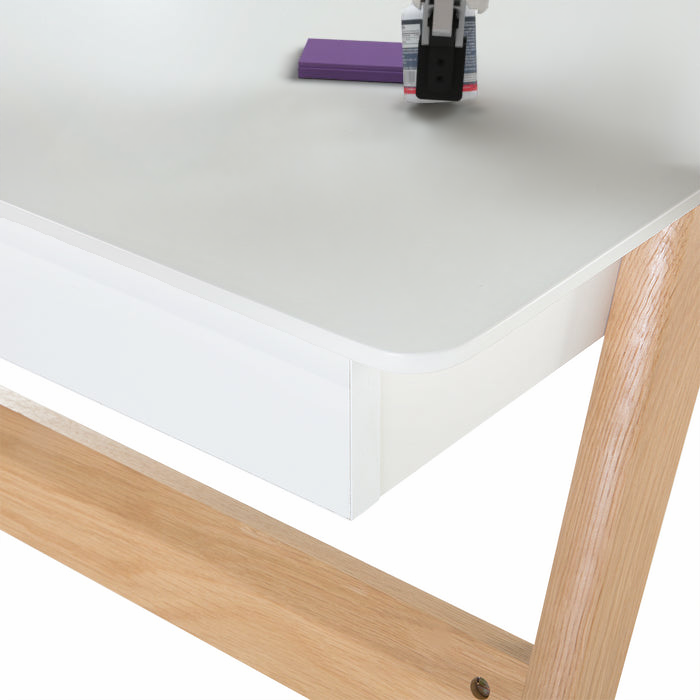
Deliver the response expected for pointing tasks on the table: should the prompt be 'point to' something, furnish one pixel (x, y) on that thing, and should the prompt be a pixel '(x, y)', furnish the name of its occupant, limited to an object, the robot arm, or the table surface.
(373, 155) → the table surface
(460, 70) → the robot arm
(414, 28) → the pill bottle
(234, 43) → the table surface
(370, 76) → the purple box
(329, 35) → the table surface
